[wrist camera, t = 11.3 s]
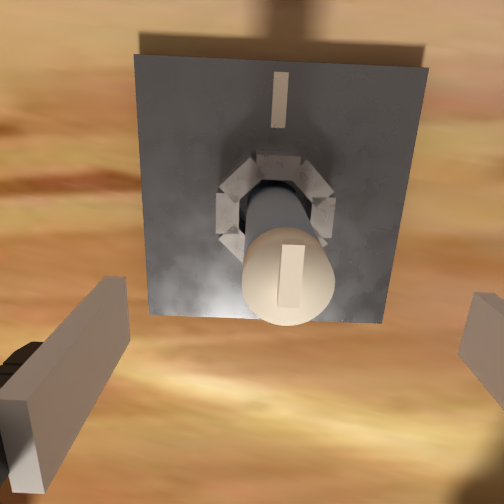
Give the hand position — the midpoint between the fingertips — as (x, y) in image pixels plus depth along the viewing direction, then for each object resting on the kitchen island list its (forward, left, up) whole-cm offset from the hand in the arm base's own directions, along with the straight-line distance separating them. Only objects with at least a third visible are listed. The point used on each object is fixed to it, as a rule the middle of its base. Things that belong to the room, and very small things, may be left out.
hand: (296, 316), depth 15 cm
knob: (0, 0, -16) cm, 16 cm away
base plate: (0, 0, -18) cm, 18 cm away
